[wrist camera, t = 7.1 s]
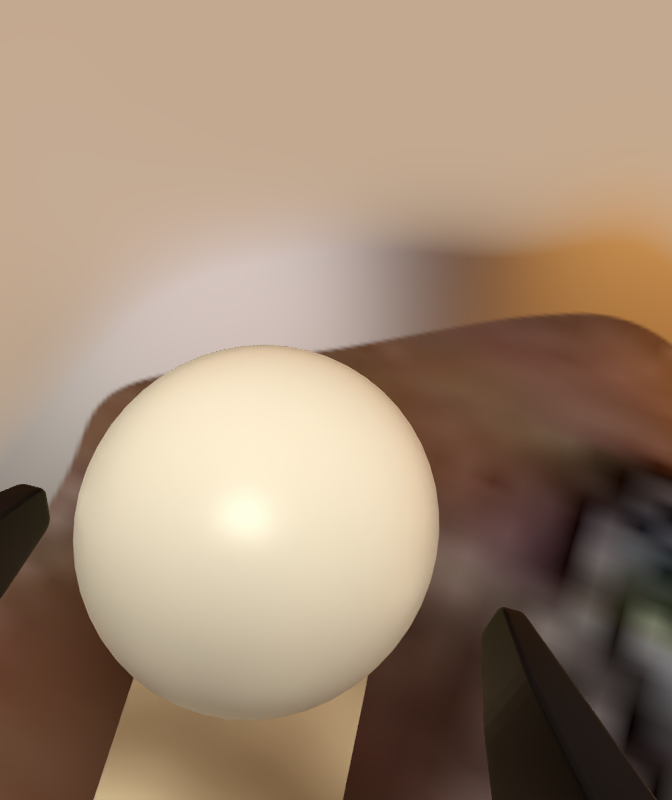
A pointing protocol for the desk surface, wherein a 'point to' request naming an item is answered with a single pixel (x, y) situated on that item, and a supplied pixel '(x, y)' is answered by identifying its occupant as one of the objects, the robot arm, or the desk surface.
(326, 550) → the peg
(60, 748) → the desk surface
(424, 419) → the desk surface
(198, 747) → the board
